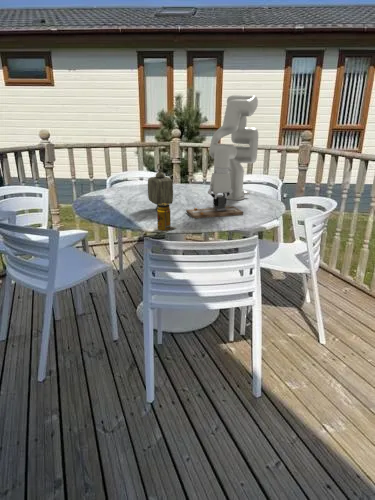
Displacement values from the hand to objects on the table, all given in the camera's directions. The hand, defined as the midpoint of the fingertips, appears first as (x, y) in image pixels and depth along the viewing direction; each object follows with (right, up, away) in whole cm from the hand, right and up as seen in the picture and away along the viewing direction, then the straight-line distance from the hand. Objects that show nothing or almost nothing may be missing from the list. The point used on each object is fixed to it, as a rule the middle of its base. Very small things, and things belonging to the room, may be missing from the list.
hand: (219, 204), depth 191 cm
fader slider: (0, -2, +1) cm, 2 cm away
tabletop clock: (-32, -2, +7) cm, 33 cm away
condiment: (-27, -14, -24) cm, 39 cm away
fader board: (-3, -4, +1) cm, 5 cm away
